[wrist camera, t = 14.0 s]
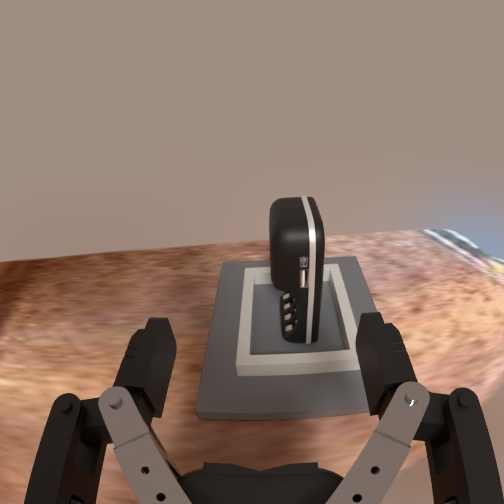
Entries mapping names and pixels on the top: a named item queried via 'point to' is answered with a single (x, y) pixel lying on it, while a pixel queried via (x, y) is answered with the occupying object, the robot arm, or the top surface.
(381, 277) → the top surface
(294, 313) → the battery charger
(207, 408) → the holder
